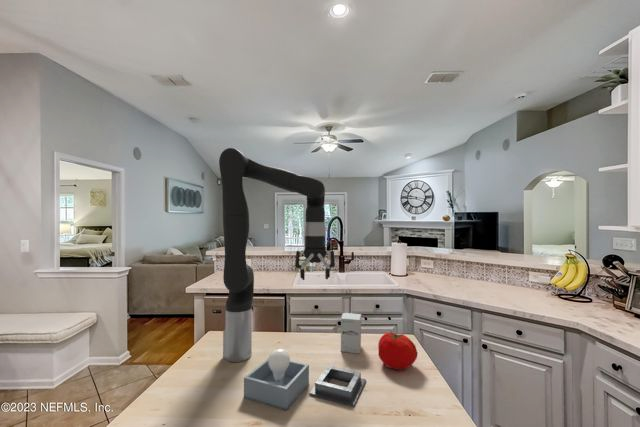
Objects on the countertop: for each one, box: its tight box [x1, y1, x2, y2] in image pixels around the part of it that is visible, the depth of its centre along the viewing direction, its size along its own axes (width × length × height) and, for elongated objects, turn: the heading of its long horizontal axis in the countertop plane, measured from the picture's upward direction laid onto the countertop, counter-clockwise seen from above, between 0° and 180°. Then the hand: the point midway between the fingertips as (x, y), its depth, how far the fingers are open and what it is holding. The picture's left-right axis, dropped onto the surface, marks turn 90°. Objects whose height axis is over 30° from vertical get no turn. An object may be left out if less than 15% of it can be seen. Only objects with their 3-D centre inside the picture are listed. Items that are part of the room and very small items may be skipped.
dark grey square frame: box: [308, 365, 367, 408], centre depth 83 cm, size 13×13×3 cm
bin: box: [243, 358, 310, 411], centre depth 82 cm, size 14×14×6 cm
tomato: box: [377, 331, 419, 371], centre depth 96 cm, size 13×12×11 cm
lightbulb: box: [267, 348, 291, 386], centre depth 82 cm, size 6×6×11 cm
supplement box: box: [340, 312, 362, 354], centre depth 108 cm, size 7×7×13 cm
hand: (315, 279), depth 102 cm, fingers open, 8 cm apart
